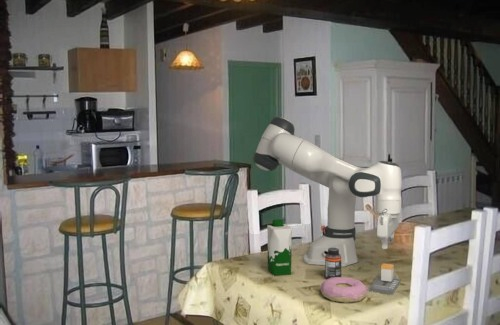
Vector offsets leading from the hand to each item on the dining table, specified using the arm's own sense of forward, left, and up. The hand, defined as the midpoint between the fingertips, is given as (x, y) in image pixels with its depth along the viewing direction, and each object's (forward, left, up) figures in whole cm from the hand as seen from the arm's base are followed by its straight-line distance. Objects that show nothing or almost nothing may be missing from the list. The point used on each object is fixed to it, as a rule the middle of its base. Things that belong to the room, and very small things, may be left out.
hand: (387, 245), depth 181 cm
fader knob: (0, 0, -13) cm, 13 cm away
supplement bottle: (-19, +5, -14) cm, 24 cm away
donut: (-17, -13, -15) cm, 26 cm away
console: (-1, -3, -14) cm, 14 cm away
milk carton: (-39, +11, -14) cm, 43 cm away
